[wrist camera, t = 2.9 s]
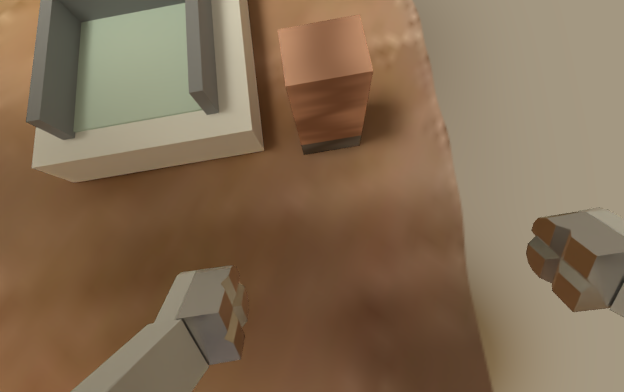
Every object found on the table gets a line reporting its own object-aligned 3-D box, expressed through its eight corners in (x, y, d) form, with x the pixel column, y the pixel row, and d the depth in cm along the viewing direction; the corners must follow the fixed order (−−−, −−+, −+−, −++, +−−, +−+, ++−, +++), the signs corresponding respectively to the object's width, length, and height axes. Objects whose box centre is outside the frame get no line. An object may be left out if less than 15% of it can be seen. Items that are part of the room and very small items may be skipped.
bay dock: (74, 182, 27) (-12, 153, 21) (85, 26, 32) (18, -39, 25) (264, 150, 27) (240, 109, 20) (246, -5, 31) (222, -80, 25)
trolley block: (303, 154, 26) (285, 86, 17) (298, 115, 27) (277, 29, 18) (359, 145, 26) (373, 70, 17) (351, 105, 27) (359, 14, 18)
